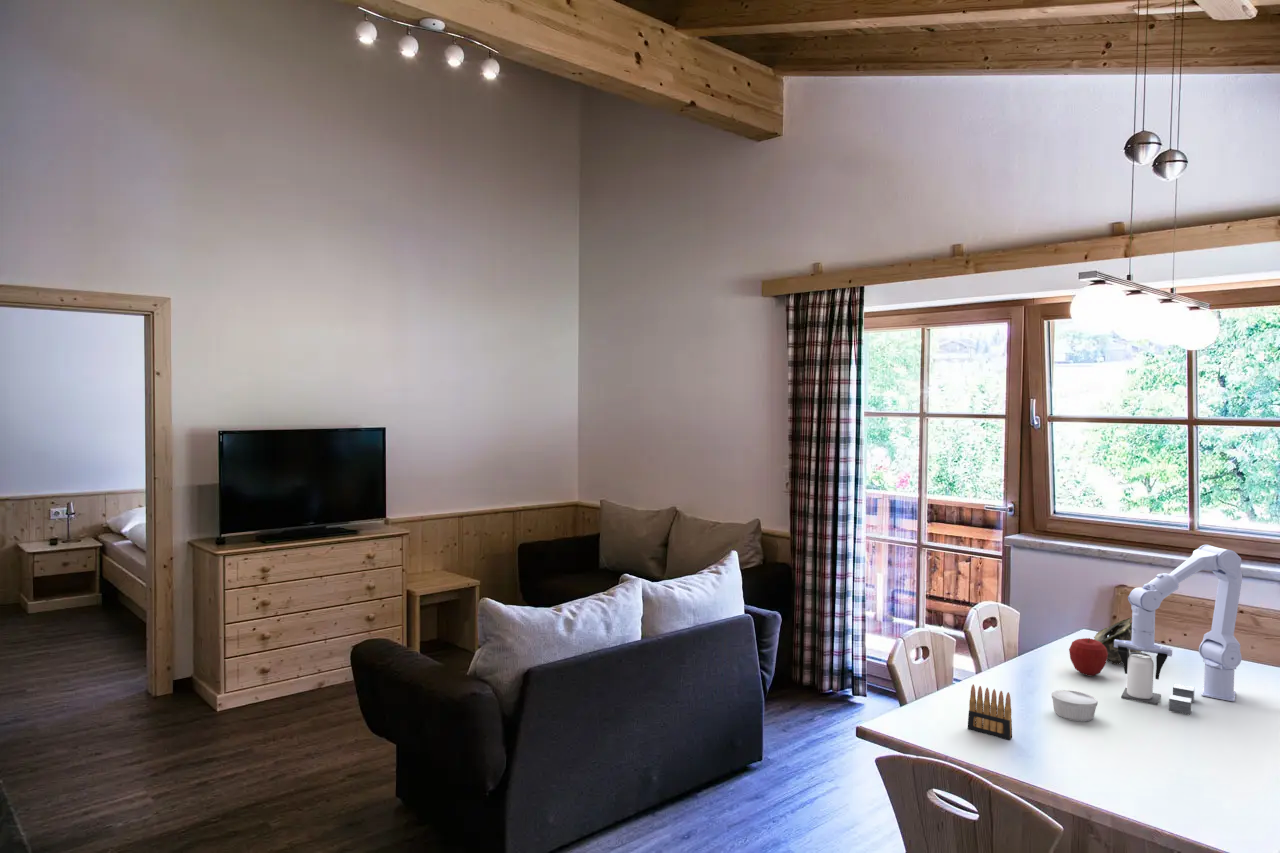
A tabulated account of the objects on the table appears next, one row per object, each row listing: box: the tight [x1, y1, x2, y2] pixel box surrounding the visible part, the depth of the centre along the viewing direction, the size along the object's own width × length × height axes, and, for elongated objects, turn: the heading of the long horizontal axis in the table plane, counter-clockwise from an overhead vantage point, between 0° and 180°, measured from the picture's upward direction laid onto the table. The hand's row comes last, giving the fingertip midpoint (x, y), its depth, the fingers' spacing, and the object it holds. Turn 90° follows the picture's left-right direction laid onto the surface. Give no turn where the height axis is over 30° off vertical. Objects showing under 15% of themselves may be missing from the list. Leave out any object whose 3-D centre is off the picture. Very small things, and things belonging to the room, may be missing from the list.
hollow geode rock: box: [1093, 616, 1142, 665], centre depth 280 cm, size 28×13×15 cm
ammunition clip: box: [967, 684, 1013, 741], centre depth 216 cm, size 11×2×12 cm, turn 50°
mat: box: [1120, 687, 1162, 706], centre depth 244 cm, size 9×9×1 cm
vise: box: [1168, 683, 1196, 716], centre depth 238 cm, size 17×5×4 cm, turn 143°
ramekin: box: [1051, 689, 1099, 722], centre depth 229 cm, size 11×11×5 cm
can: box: [1126, 652, 1154, 699], centre depth 243 cm, size 6×6×12 cm
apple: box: [1068, 637, 1108, 677], centre depth 263 cm, size 11×11×12 cm
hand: (1141, 675), depth 243 cm, fingers open, 7 cm apart
